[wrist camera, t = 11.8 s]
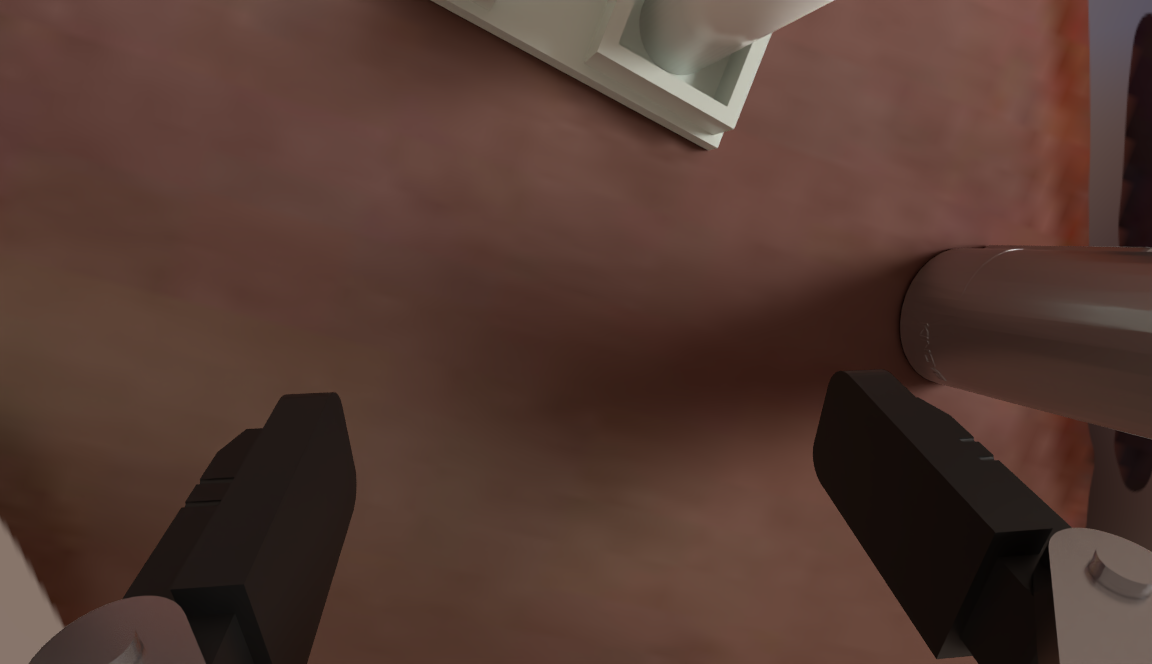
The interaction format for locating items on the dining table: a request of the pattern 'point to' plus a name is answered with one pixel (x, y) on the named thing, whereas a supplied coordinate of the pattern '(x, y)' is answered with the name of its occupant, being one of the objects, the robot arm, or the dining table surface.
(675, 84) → the stand
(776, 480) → the dining table surface
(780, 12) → the salt mill
